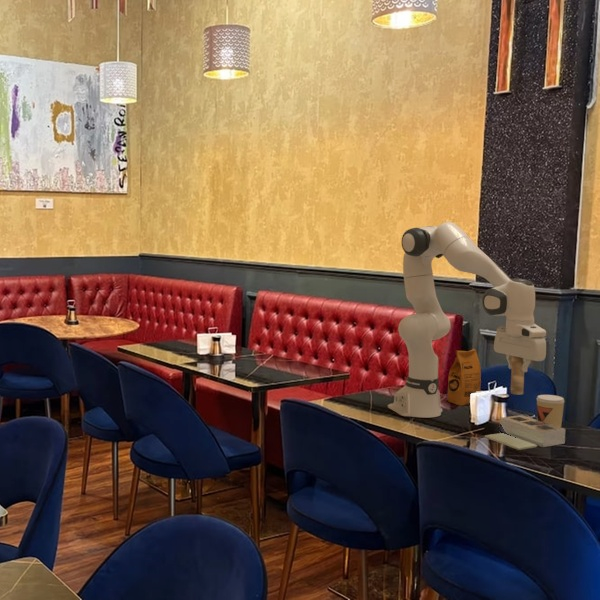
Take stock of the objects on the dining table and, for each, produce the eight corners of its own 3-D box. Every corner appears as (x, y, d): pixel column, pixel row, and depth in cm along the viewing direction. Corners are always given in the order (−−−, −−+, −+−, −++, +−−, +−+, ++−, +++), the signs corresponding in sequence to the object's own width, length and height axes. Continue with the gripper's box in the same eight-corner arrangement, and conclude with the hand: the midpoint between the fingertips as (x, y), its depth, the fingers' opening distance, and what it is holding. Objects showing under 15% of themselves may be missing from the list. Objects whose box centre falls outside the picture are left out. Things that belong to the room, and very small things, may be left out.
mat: (484, 437, 245) (484, 435, 245) (502, 434, 249) (502, 432, 249) (518, 450, 231) (518, 448, 231) (537, 447, 235) (537, 445, 235)
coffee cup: (529, 428, 258) (531, 395, 257) (550, 426, 261) (552, 393, 260) (547, 435, 249) (548, 401, 248) (568, 433, 252) (570, 399, 251)
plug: (507, 392, 238) (509, 356, 236) (517, 391, 239) (518, 355, 238) (516, 394, 234) (518, 358, 233) (525, 393, 236) (527, 357, 235)
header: (499, 431, 252) (500, 417, 252) (520, 428, 257) (521, 415, 256) (542, 447, 235) (543, 432, 234) (564, 443, 239) (565, 428, 239)
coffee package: (443, 401, 297) (445, 348, 295) (466, 398, 303) (468, 347, 301) (459, 406, 288) (461, 352, 286) (483, 403, 294) (485, 350, 292)
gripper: (490, 325, 242) (488, 365, 244) (535, 333, 224) (533, 376, 226) (504, 324, 245) (502, 364, 247) (550, 332, 227) (548, 375, 229)
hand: (517, 370), depth 236 cm, fingers closed on plug, 4 cm apart
